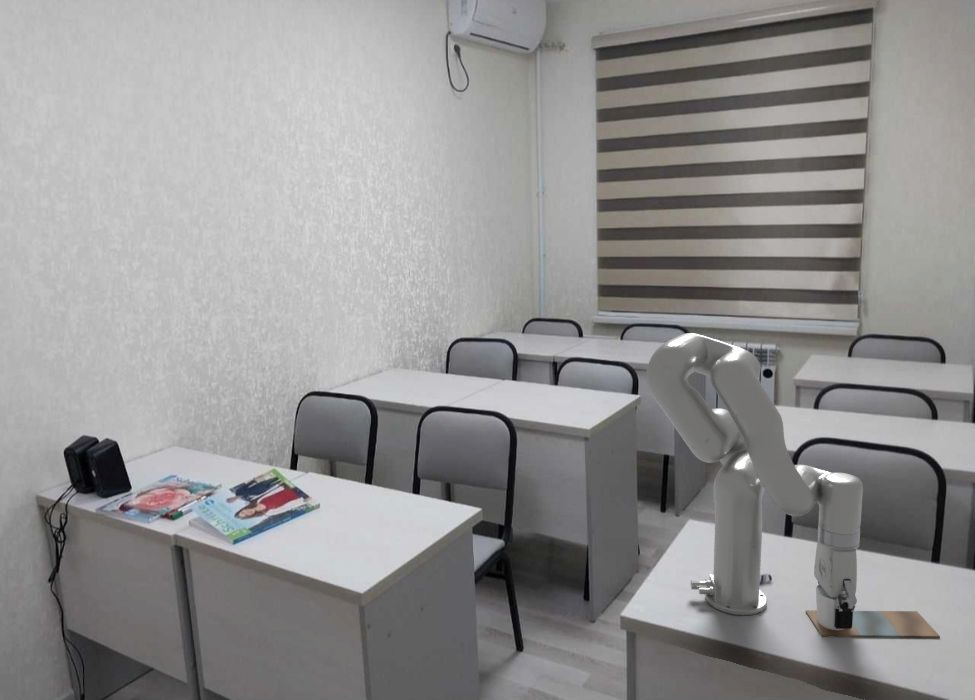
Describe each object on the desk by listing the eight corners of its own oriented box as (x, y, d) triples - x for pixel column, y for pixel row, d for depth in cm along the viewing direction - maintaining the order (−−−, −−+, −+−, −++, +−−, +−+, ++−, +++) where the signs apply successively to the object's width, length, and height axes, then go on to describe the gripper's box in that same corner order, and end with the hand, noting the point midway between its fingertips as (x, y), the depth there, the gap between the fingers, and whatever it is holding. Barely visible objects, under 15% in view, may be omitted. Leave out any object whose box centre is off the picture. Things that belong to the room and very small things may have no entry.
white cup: (808, 613, 156) (810, 582, 154) (842, 613, 156) (844, 582, 154) (822, 632, 149) (824, 599, 148) (857, 631, 149) (859, 599, 147)
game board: (821, 636, 148) (821, 634, 148) (805, 612, 157) (805, 610, 157) (939, 637, 147) (939, 636, 147) (916, 613, 156) (917, 611, 155)
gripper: (803, 517, 157) (800, 593, 161) (836, 555, 140) (831, 639, 144) (840, 517, 157) (836, 593, 160) (877, 555, 140) (871, 640, 143)
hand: (834, 615), depth 152 cm, fingers open, 8 cm apart
